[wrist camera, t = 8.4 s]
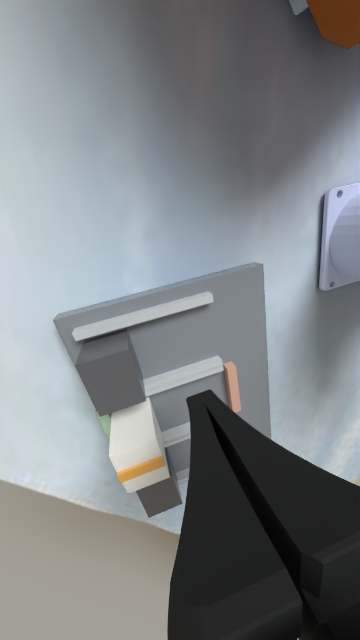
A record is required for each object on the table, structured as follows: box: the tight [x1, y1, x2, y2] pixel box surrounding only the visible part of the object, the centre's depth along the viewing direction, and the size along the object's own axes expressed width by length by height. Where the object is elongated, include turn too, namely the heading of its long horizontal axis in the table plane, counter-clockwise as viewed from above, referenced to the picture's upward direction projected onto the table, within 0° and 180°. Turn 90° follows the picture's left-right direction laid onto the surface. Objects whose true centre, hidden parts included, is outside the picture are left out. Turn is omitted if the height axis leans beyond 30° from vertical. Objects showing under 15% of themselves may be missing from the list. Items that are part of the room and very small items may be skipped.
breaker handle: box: [109, 397, 170, 494], centre depth 16 cm, size 3×4×4 cm
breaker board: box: [53, 262, 271, 517], centre depth 18 cm, size 15×20×4 cm
